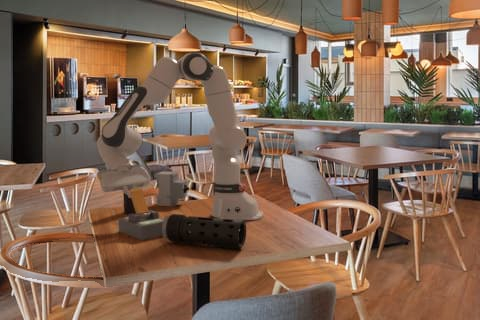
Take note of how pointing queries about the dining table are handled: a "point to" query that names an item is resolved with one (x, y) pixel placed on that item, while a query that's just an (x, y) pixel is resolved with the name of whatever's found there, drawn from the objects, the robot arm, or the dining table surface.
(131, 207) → the bottle
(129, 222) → the panel
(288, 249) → the dining table surface
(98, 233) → the dining table surface
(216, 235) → the muzzle brake
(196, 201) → the dining table surface
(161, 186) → the circuit breaker
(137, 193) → the lever
